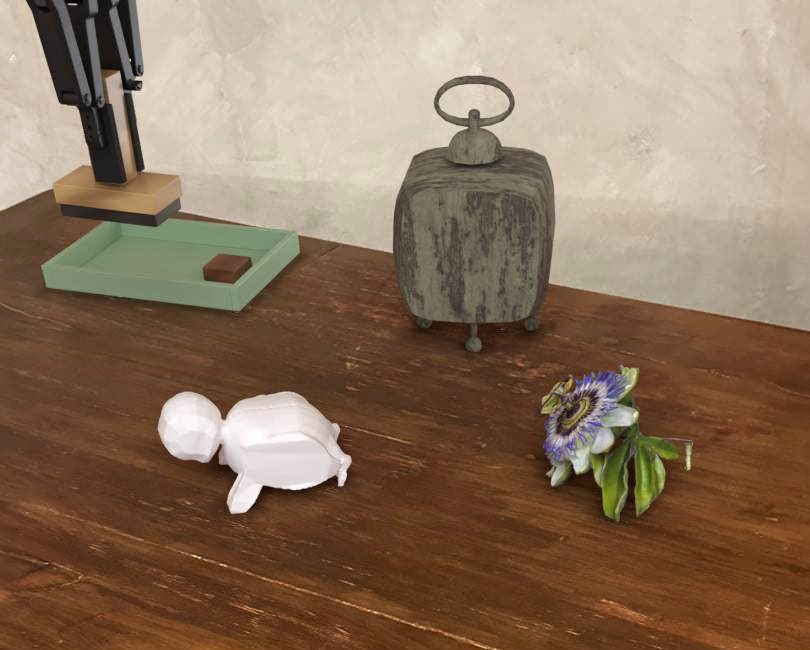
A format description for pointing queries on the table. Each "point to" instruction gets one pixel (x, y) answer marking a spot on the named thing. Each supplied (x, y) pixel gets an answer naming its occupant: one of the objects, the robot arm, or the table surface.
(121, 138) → the brush
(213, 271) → the wood chip
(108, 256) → the tray
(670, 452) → the passion flower
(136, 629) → the table surface
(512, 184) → the tabletop clock
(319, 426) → the white turtle figurine
